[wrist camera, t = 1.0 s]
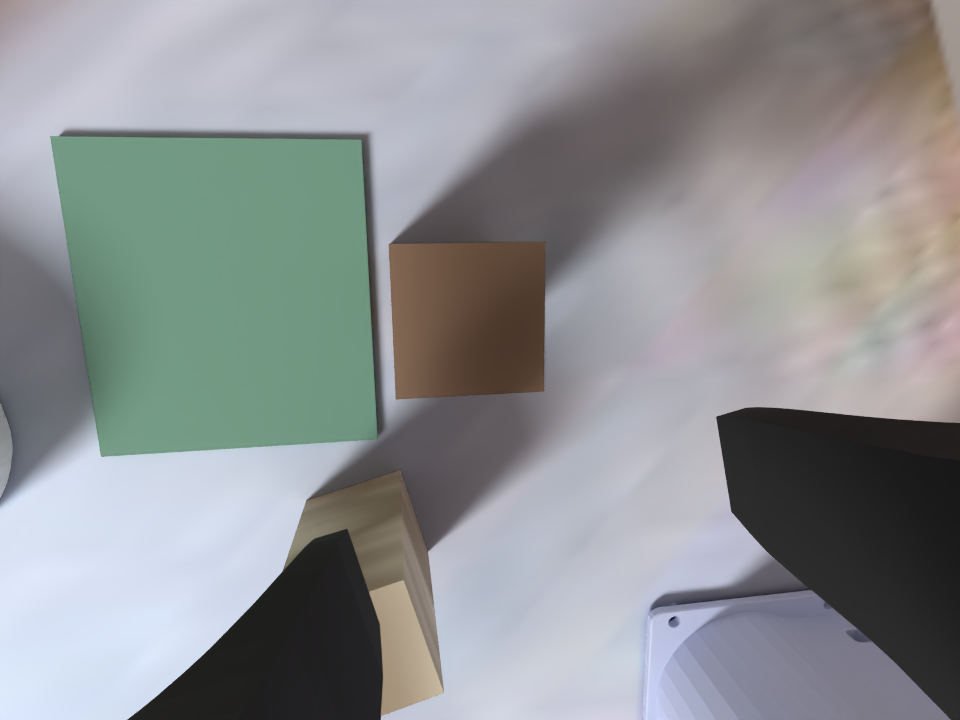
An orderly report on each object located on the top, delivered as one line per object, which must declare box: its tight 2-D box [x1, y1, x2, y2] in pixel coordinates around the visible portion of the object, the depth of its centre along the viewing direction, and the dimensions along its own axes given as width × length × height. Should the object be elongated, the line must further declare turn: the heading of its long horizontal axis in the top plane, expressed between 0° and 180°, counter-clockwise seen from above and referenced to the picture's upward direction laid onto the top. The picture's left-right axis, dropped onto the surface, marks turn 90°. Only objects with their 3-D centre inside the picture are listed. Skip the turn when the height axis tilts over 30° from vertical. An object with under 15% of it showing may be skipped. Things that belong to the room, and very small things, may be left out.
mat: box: [50, 136, 378, 457], centre depth 19 cm, size 9×10×1 cm
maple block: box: [283, 470, 444, 716], centre depth 18 cm, size 4×4×7 cm
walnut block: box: [389, 242, 545, 399], centre depth 16 cm, size 4×4×7 cm
